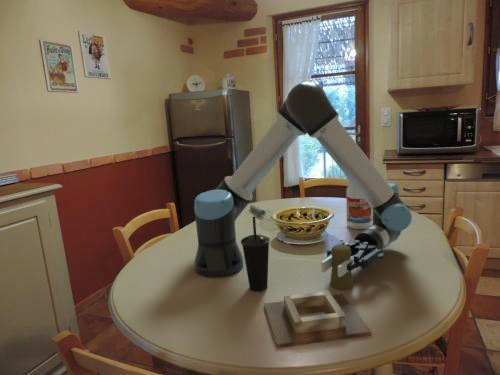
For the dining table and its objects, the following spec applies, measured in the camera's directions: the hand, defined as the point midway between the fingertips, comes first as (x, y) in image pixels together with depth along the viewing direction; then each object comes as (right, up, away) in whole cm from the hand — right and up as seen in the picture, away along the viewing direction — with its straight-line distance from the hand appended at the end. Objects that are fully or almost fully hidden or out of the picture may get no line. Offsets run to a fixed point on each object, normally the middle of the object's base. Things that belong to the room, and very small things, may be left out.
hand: (330, 269), depth 92 cm
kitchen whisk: (-15, +7, +69) cm, 71 cm away
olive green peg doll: (+4, -6, +5) cm, 9 cm away
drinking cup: (-18, -7, +7) cm, 21 cm away
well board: (-6, -9, -10) cm, 15 cm away
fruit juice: (+22, +6, +50) cm, 56 cm away
